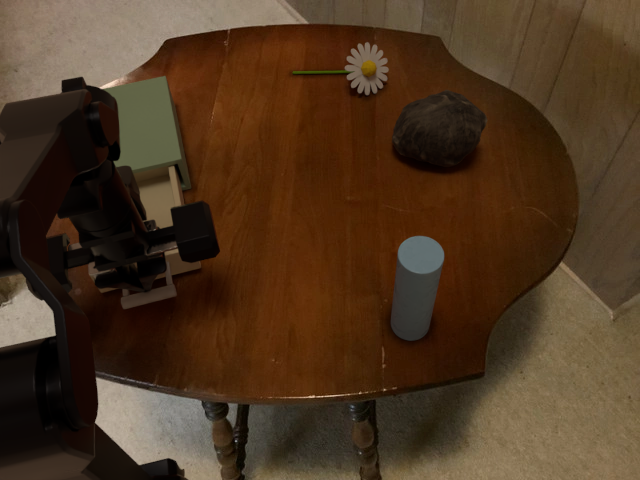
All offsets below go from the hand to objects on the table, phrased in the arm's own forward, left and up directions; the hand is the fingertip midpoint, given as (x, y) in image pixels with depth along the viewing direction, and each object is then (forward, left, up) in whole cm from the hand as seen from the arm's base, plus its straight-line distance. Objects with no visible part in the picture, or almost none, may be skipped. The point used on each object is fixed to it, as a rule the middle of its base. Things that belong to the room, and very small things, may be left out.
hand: (146, 287), depth 68 cm
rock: (+41, +10, -4) cm, 43 cm away
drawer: (+1, +9, -3) cm, 9 cm away
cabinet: (+2, +26, -4) cm, 26 cm away
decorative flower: (+34, +28, -4) cm, 45 cm away
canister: (+27, -13, -4) cm, 30 cm away
